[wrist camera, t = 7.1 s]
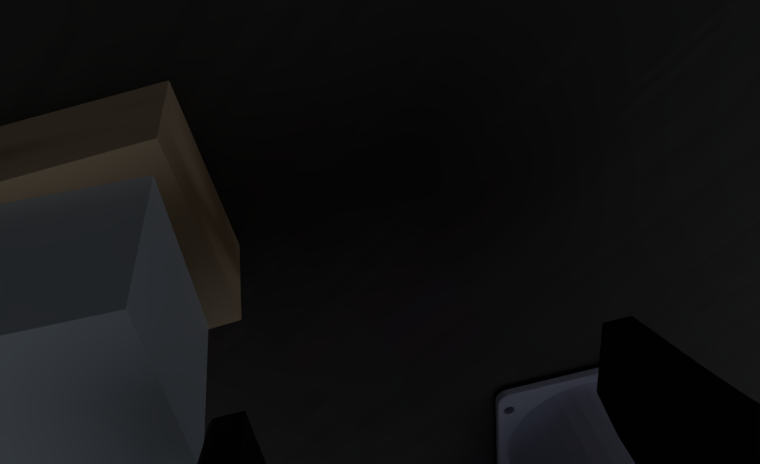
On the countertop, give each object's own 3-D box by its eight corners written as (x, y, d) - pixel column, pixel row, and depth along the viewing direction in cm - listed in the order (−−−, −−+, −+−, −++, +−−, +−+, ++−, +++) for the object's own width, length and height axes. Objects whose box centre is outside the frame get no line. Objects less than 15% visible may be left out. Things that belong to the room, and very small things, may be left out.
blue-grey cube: (208, 325, 18) (202, 475, 14) (28, 364, 18) (-32, 532, 14) (153, 175, 15) (125, 308, 11) (-64, 216, 15) (-175, 372, 11)
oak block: (239, 241, 21) (241, 319, 18) (66, 291, 21) (36, 379, 18) (169, 77, 18) (156, 138, 15) (-39, 135, 18) (-99, 209, 14)
